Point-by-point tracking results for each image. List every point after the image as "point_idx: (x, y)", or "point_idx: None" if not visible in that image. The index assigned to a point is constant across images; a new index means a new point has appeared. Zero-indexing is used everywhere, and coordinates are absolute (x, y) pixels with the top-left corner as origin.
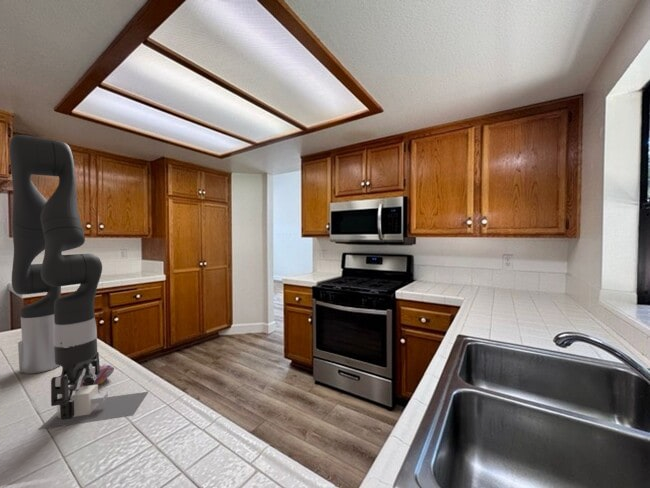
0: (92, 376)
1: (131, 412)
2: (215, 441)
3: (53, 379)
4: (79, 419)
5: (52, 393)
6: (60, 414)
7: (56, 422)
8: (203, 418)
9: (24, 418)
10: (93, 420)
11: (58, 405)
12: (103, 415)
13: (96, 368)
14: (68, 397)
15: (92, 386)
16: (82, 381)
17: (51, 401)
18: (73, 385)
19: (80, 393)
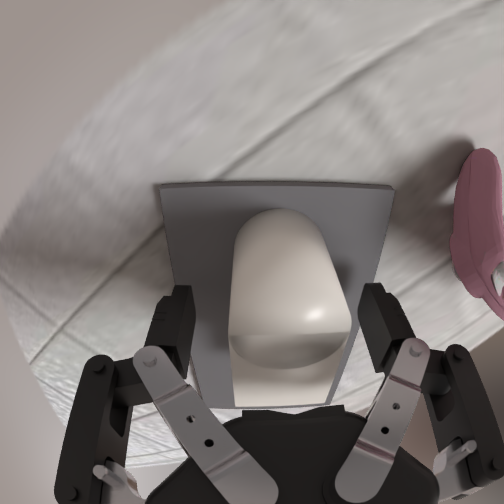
0: (364, 416)
1: (219, 403)
2: (132, 455)
3: (62, 500)
4: (207, 311)
5: (72, 422)
6: (236, 247)
7: (203, 237)
8: (184, 455)
9: (317, 31)
10: (194, 348)
11: (239, 269)
12: (219, 361)
13: (431, 415)
14: (152, 400)
15: (311, 395)
16: (469, 276)
17: (81, 380)
18: (483, 215)
19: (244, 386)
